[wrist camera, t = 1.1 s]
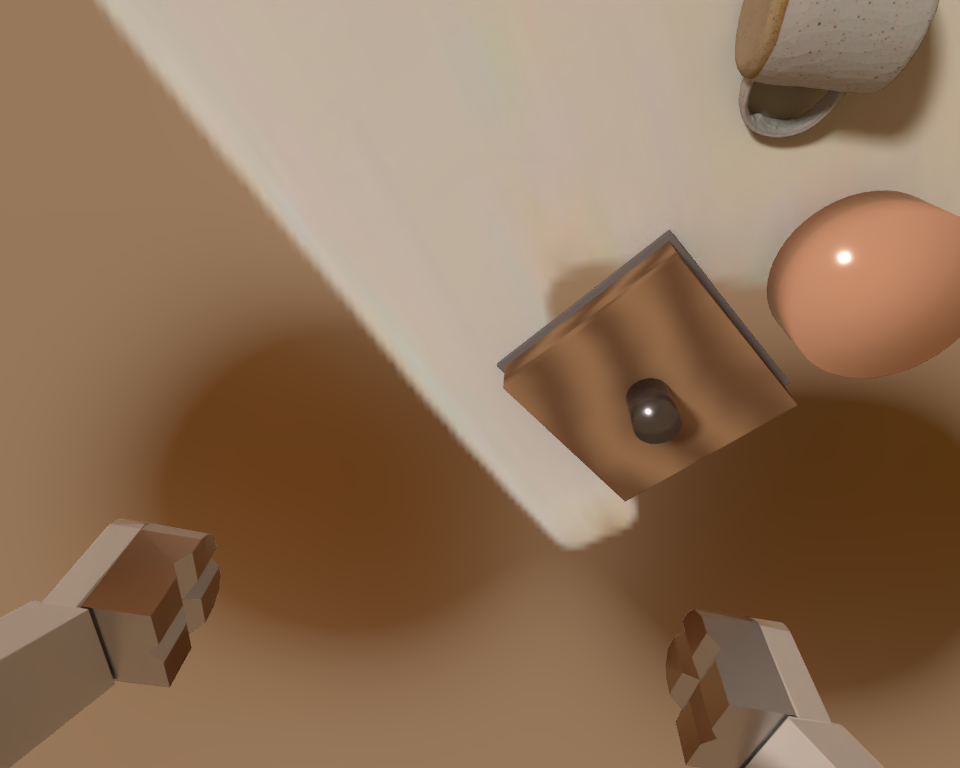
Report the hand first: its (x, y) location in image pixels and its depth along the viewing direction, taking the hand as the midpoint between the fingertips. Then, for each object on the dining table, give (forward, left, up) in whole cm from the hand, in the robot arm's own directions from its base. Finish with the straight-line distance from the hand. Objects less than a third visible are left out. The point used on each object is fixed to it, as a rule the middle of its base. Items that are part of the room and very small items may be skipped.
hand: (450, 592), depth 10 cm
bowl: (-13, +23, -37) cm, 46 cm away
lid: (+4, +21, -37) cm, 42 cm away
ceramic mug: (-18, +7, -37) cm, 42 cm away
